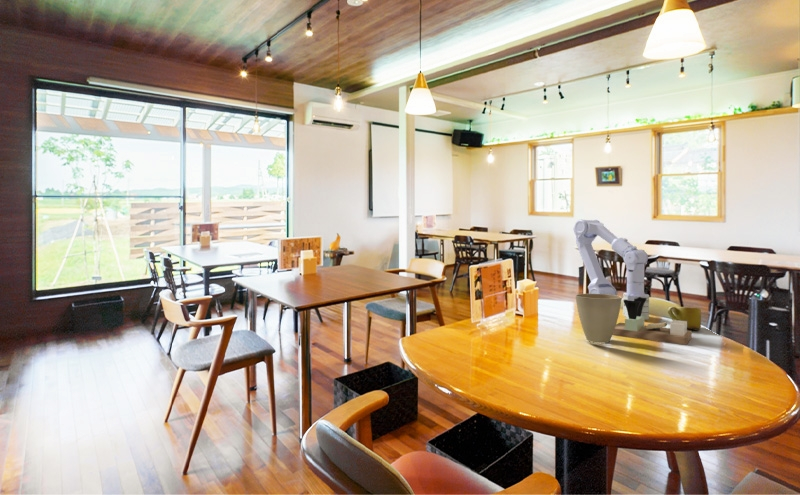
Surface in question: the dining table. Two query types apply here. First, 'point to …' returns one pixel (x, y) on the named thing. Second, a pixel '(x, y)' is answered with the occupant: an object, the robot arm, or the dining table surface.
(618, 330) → the panel
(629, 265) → the robot arm
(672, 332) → the button white
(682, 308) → the mug
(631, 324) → the light green rectangular bar
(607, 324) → the plant pot
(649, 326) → the tan flat block
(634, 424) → the dining table surface
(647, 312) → the supplement box
